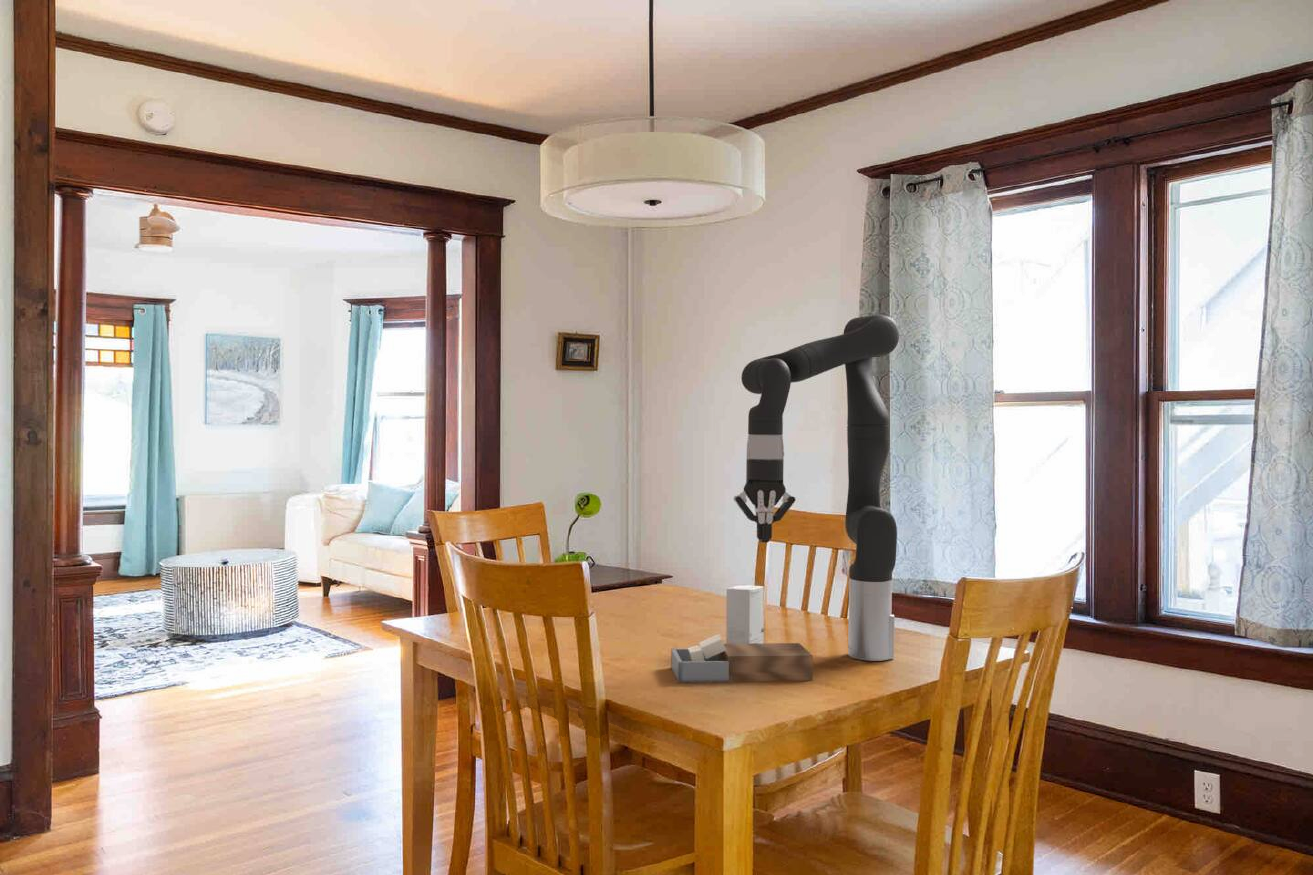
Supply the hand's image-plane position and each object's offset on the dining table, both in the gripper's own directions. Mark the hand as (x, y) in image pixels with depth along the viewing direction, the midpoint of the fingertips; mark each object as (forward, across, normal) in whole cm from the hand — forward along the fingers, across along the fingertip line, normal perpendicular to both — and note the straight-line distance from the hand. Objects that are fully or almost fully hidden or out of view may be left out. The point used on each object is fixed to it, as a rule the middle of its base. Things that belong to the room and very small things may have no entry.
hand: (763, 541), depth 194 cm
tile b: (+24, +12, 0) cm, 27 cm away
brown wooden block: (+27, 0, 0) cm, 27 cm away
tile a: (+23, +10, -1) cm, 25 cm away
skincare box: (+27, 0, -18) cm, 33 cm away
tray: (+27, +13, 0) cm, 30 cm away
